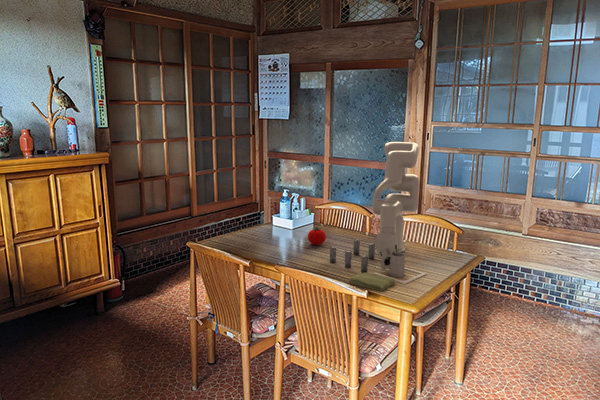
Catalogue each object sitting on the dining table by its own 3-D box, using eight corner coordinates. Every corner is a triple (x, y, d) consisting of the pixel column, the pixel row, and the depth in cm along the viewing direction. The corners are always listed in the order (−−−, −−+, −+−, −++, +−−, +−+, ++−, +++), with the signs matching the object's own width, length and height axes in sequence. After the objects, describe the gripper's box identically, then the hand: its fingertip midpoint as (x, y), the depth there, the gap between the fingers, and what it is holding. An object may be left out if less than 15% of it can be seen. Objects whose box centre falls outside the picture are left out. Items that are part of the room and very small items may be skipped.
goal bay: (395, 265, 230) (395, 264, 230) (426, 274, 217) (426, 273, 217) (373, 274, 217) (373, 273, 217) (405, 284, 205) (405, 283, 205)
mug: (405, 278, 213) (406, 253, 210) (379, 275, 216) (380, 251, 213) (405, 272, 220) (406, 248, 218) (380, 270, 223) (381, 246, 221)
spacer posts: (355, 252, 250) (356, 238, 248) (391, 263, 234) (392, 247, 232) (328, 262, 235) (328, 246, 233) (364, 273, 218) (365, 257, 217)
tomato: (322, 248, 258) (323, 230, 256) (305, 246, 262) (305, 229, 260) (327, 243, 268) (328, 226, 266) (310, 241, 271) (311, 224, 269)
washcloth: (362, 275, 217) (363, 269, 216) (396, 284, 206) (396, 278, 205) (347, 283, 207) (347, 276, 206) (381, 293, 196) (382, 286, 195)
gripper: (370, 227, 222) (368, 264, 225) (396, 233, 211) (394, 271, 215) (379, 225, 227) (378, 260, 230) (405, 230, 216) (403, 268, 220)
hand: (386, 266), depth 222 cm, fingers closed
